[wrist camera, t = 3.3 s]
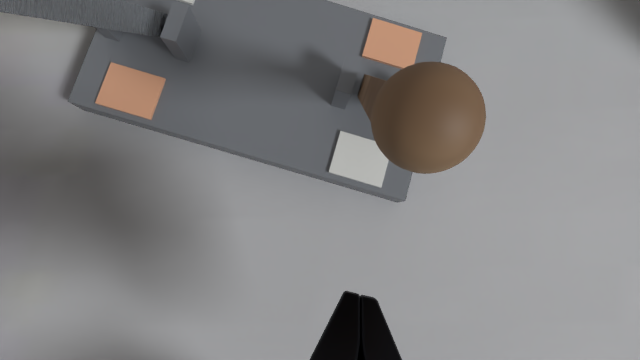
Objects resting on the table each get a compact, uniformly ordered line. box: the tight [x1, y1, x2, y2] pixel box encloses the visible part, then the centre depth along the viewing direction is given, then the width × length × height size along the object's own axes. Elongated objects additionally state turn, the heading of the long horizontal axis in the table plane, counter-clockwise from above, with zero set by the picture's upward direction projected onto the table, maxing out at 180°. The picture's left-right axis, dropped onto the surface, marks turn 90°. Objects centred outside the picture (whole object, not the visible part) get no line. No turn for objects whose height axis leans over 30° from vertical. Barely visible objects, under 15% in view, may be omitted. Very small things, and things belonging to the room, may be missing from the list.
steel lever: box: [0, 0, 168, 37], centre depth 14 cm, size 3×3×13 cm
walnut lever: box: [357, 62, 486, 174], centre depth 14 cm, size 3×3×13 cm
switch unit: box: [68, 0, 447, 202], centre depth 21 cm, size 10×19×4 cm, turn 74°
